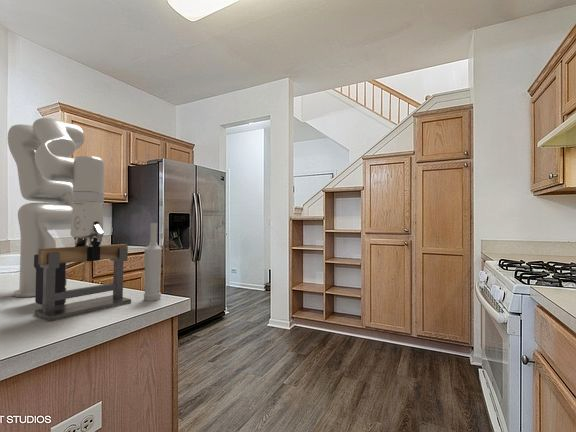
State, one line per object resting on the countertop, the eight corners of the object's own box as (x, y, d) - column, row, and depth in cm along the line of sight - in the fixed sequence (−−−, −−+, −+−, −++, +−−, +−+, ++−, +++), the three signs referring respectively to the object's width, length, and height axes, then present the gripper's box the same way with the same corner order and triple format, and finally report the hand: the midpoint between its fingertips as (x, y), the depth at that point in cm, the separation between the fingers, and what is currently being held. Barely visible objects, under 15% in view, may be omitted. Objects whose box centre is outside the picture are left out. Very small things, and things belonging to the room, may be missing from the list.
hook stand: (34, 314, 80) (35, 251, 81) (114, 298, 98) (115, 246, 98) (48, 321, 75) (50, 254, 75) (131, 303, 93) (132, 248, 93)
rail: (38, 264, 78) (38, 248, 78) (122, 256, 97) (122, 244, 97) (42, 265, 77) (43, 249, 77) (127, 257, 95) (127, 244, 95)
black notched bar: (67, 304, 90) (68, 255, 90) (51, 308, 86) (52, 256, 87) (49, 300, 95) (50, 253, 96) (32, 303, 91) (33, 254, 92)
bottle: (154, 301, 94) (155, 223, 95) (139, 300, 95) (141, 222, 96) (164, 297, 100) (165, 223, 100) (150, 296, 101) (151, 222, 101)
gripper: (60, 199, 89) (59, 258, 88) (88, 196, 79) (86, 263, 79) (88, 200, 95) (87, 256, 95) (117, 198, 86) (115, 260, 85)
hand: (87, 259), depth 87 cm, fingers open, 6 cm apart
